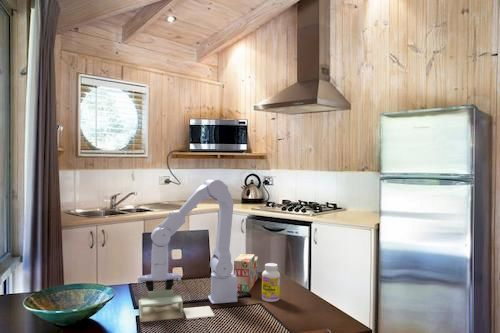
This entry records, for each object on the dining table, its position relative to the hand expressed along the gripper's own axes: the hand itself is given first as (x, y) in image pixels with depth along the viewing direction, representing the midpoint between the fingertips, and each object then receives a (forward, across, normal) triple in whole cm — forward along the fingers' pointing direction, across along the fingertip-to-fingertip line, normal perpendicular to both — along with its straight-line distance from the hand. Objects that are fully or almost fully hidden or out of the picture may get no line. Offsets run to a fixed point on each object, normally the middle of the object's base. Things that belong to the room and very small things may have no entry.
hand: (159, 302), depth 135 cm
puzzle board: (+1, 0, +4) cm, 4 cm away
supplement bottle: (+2, -40, +3) cm, 40 cm away
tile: (+1, -12, +10) cm, 16 cm away
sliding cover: (0, 0, +8) cm, 8 cm away
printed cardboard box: (+2, -37, -17) cm, 41 cm away
